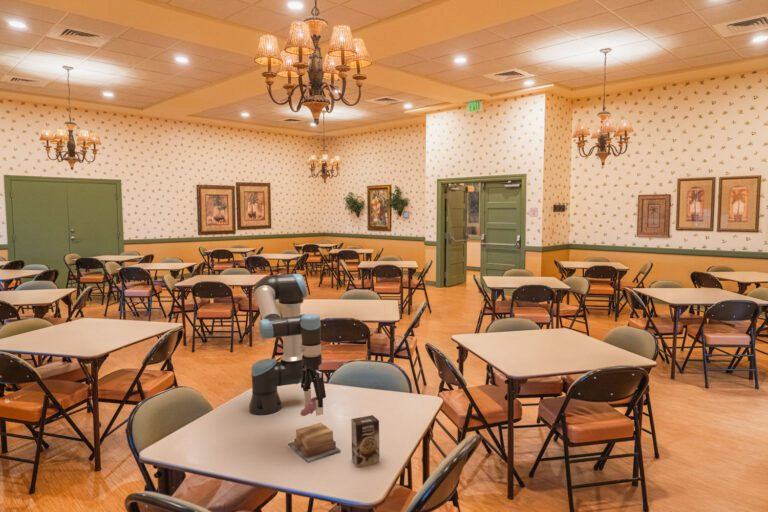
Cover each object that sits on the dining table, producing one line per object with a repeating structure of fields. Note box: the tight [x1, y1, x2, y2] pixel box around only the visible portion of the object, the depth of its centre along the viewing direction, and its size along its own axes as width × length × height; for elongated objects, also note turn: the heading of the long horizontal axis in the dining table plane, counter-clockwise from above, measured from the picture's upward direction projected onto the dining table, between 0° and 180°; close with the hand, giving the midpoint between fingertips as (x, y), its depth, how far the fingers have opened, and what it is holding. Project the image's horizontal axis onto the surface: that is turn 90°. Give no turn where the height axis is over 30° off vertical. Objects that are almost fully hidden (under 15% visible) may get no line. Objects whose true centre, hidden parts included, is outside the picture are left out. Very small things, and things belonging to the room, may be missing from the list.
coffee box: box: [350, 414, 381, 468], centre depth 183 cm, size 9×6×16 cm
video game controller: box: [300, 396, 317, 417], centre depth 191 cm, size 10×5×7 cm, turn 167°
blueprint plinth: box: [287, 422, 341, 464], centre depth 194 cm, size 18×14×8 cm
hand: (313, 410), depth 193 cm, fingers closed on video game controller, 9 cm apart
